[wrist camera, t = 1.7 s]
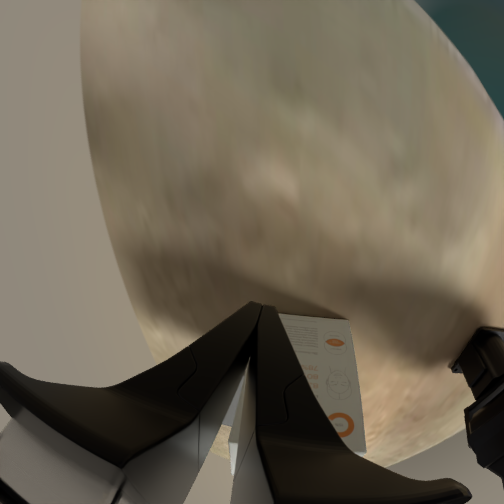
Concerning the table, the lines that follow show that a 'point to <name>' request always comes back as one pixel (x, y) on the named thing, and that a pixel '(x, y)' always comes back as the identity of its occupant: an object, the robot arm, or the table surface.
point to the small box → (322, 377)
